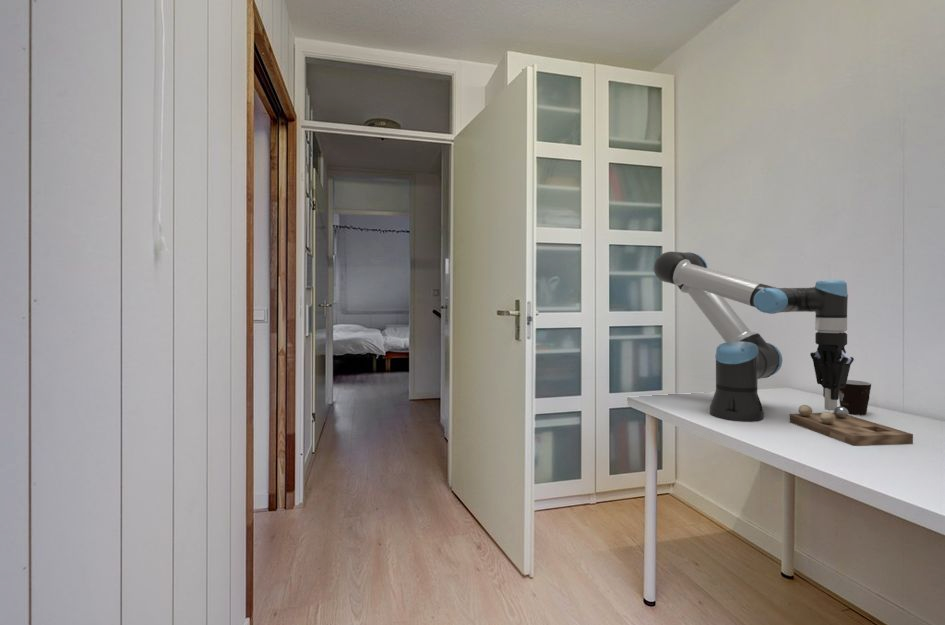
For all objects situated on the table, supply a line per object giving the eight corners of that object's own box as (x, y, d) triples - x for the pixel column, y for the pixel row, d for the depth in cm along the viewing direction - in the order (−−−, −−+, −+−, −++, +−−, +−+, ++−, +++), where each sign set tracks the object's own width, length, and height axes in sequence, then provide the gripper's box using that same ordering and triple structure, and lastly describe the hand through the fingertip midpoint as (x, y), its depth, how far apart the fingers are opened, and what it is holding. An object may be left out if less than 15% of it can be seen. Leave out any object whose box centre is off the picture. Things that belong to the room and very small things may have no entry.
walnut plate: (853, 445, 116) (854, 436, 116) (789, 422, 138) (789, 413, 138) (912, 443, 117) (913, 434, 117) (839, 420, 139) (839, 412, 139)
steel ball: (840, 419, 131) (840, 408, 131) (830, 416, 134) (830, 405, 134) (851, 419, 131) (851, 407, 131) (841, 416, 134) (841, 405, 134)
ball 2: (826, 425, 126) (826, 413, 125) (816, 422, 129) (817, 410, 129) (838, 425, 126) (838, 413, 126) (828, 421, 129) (828, 410, 129)
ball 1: (804, 417, 133) (804, 406, 133) (795, 414, 137) (795, 403, 137) (815, 417, 134) (815, 406, 134) (806, 414, 137) (806, 403, 137)
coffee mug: (836, 408, 154) (837, 378, 153) (870, 411, 148) (870, 381, 148) (836, 415, 145) (836, 384, 144) (872, 419, 139) (872, 387, 139)
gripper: (862, 333, 129) (862, 414, 130) (824, 330, 142) (824, 404, 143) (838, 333, 129) (837, 415, 130) (802, 330, 142) (801, 405, 143)
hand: (830, 409), depth 136 cm, fingers closed
